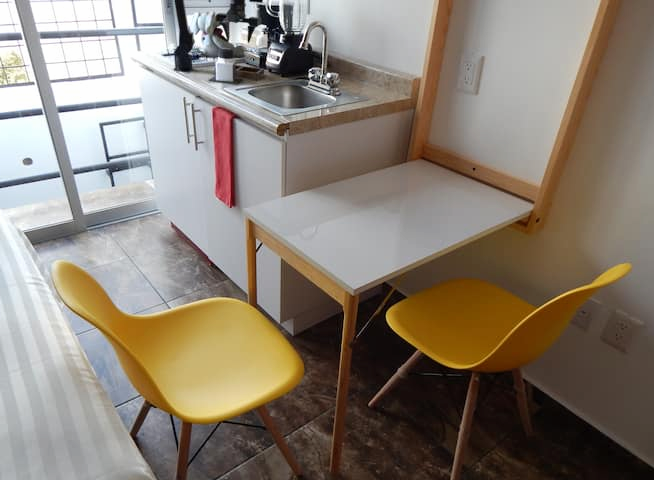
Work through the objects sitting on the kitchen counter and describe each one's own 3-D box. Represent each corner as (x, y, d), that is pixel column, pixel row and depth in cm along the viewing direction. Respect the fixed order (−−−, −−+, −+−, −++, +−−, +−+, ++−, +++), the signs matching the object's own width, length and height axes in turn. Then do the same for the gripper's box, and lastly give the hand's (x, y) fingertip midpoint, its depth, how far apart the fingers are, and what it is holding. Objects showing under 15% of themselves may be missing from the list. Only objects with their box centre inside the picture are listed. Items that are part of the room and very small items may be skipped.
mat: (208, 80, 202) (208, 79, 202) (217, 76, 209) (216, 75, 209) (236, 84, 200) (236, 83, 200) (243, 79, 208) (243, 78, 207)
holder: (215, 74, 211) (214, 67, 209) (223, 70, 219) (223, 63, 218) (257, 80, 208) (257, 73, 207) (264, 75, 217) (264, 68, 215)
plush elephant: (223, 48, 259) (222, 5, 248) (248, 56, 247) (248, 11, 235) (179, 52, 243) (175, 5, 232) (203, 61, 231) (201, 12, 219)
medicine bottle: (233, 82, 202) (232, 51, 195) (216, 80, 202) (215, 49, 195) (235, 78, 208) (235, 48, 201) (219, 76, 208) (218, 46, 201)
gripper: (209, 0, 196) (211, 41, 205) (253, 5, 193) (253, 47, 202) (219, -3, 205) (220, 38, 214) (261, 2, 203) (261, 43, 211)
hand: (238, 41), depth 210 cm, fingers open, 9 cm apart
